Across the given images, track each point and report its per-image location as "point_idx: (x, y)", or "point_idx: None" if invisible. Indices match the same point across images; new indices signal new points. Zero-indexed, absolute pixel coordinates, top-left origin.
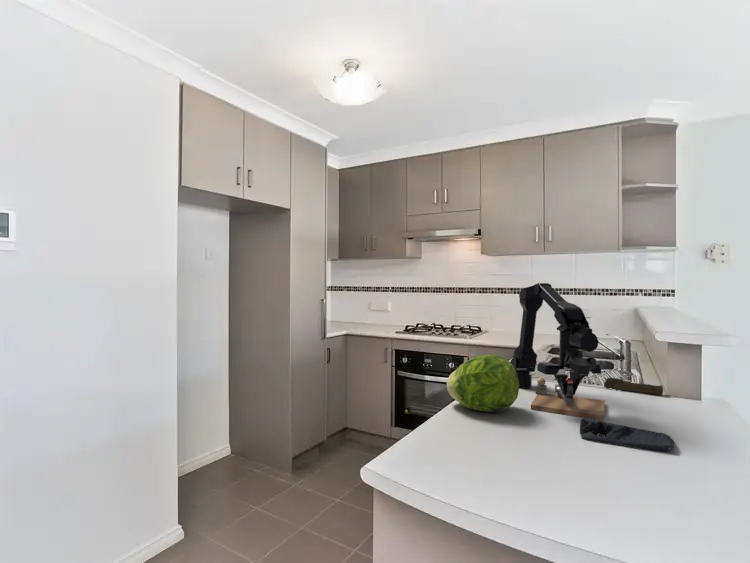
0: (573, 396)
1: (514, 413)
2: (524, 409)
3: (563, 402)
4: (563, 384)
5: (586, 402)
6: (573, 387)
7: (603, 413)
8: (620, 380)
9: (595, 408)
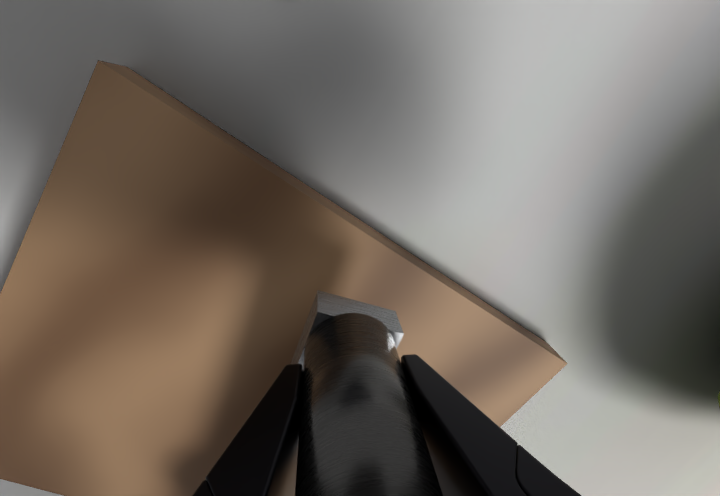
0: None
1: (696, 275)
2: (583, 341)
3: None
4: (532, 463)
5: (116, 414)
6: (290, 454)
7: (69, 136)
8: None
9: (97, 280)
